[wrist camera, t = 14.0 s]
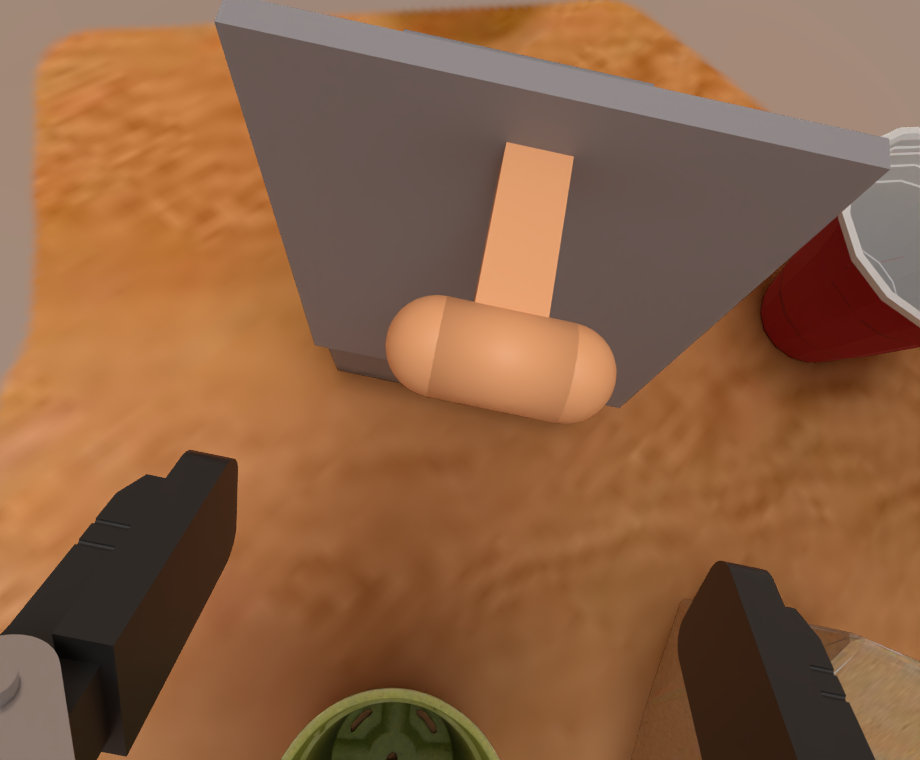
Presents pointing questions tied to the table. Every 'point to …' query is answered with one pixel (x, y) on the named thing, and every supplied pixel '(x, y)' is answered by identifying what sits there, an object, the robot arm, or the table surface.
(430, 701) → the plant pot
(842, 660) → the sandwich container
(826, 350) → the plastic cup
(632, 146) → the carton lid
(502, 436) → the table surface
